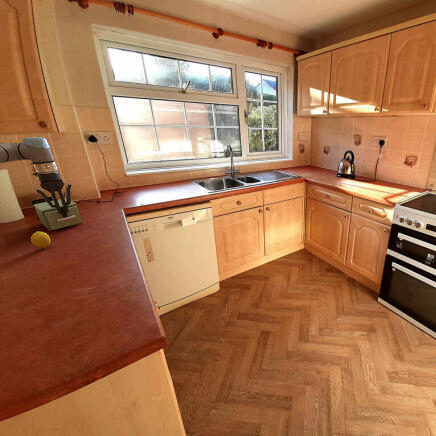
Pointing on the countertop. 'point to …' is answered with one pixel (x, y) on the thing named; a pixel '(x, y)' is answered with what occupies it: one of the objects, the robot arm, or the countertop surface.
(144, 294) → the countertop surface
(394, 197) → the countertop surface
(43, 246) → the lemon
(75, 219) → the drawer
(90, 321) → the countertop surface
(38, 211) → the cabinet
